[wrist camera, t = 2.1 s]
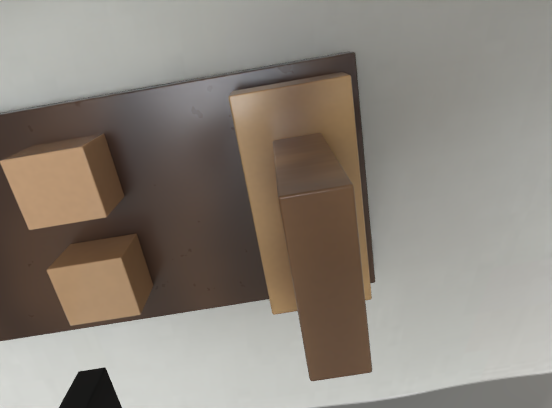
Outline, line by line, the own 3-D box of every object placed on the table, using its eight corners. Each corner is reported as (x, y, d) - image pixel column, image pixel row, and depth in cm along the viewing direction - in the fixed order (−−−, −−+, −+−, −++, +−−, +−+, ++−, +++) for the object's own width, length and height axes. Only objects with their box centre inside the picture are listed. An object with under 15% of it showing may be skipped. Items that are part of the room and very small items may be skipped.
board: (350, 51, 24) (355, 52, 23) (370, 271, 30) (375, 282, 28) (-110, 132, 25) (-132, 137, 24) (-7, 330, 31) (-20, 344, 29)
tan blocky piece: (136, 232, 26) (121, 257, 23) (154, 285, 28) (141, 315, 25) (69, 243, 27) (45, 269, 24) (90, 295, 28) (69, 326, 25)
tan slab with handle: (338, 69, 23) (404, 96, 12) (359, 269, 28) (419, 412, 17) (232, 87, 23) (207, 130, 13) (271, 283, 28) (276, 433, 17)
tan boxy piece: (104, 133, 24) (82, 146, 21) (125, 196, 25) (107, 217, 23) (30, 145, 24) (-2, 161, 21) (55, 208, 26) (28, 230, 23)
